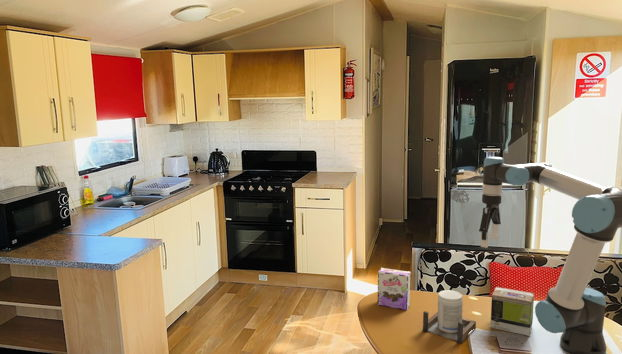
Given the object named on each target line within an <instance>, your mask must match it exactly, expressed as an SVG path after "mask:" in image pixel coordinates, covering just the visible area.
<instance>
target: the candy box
mask: <svg viewBox="0 0 622 354" xmlns="http://www.w3.org/2000/svg"><path fill="white" fill-rule="evenodd" d="M411 273H412V272H411V271H409V270H408V271H406V270H399V269H393V268H385V267H380V269H379V270H378V272H377V306H379V305H382V306H381V307H385V306H386V307H385V308H391V309H397V310H398V309H399V310H403V311H408V309H409V308H410V306H409V305H410V303H411V302H410V299H411V298H410V294H411Z"/></svg>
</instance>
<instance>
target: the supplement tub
mask: <svg viewBox="0 0 622 354" xmlns="http://www.w3.org/2000/svg"><path fill="white" fill-rule="evenodd" d="M437 295H438V297H437V312H438V328H439V329H440V330H442V331H444V332H447V333H457V332H458V322H462V318H463V294H462V293H461V292H458V291H457V290H452V289H446V290H445V289H444V290H440V291H439V292H438V294H437Z"/></svg>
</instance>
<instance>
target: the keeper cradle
mask: <svg viewBox="0 0 622 354" xmlns="http://www.w3.org/2000/svg"><path fill="white" fill-rule="evenodd" d="M422 314H423V315H422V316H423V317H422V332H424V333H431V334H434V335H437V336H440V337H443V338H445V339H449V340H452V341H455V342H456V343H458V344H463V343H464V341H465V340H466V339H467V338H468V337H469V336H468V333H469V332H470V331H471V330H473V329H476V327H477V326H476V325H477V321H475V320H472V319H468V318H465V317H462V322H458V332H457V333H447V332H444V331H442V330H440V329H439V328H438V311H437V312H436V313H435V314H433V315H432V316H431V317H430V318H429V311H423V313H422Z"/></svg>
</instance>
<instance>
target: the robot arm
mask: <svg viewBox="0 0 622 354" xmlns="http://www.w3.org/2000/svg"><path fill="white" fill-rule="evenodd" d="M482 168H483V175H482V178H483V179H482V185H481V188H482V195H481V197H482V198H481V202H482V203H483V204H485V207H483V208H482V214H481V219H480V226H479V229H478V232H479V233H480V247H481V248H486V249H488V247H489V228H490V225H491V232H490V239H491V240H498V237H499V225H501V224H502V222H501V214H500V204H501V203H502V195H501V194H502V193H503V184H507V185H512V186H519V187H521V186H524V185H525V184H528V183H536V184H539V185H541V186H544V187H546V188H549V189H551V190H554V191H556V192H559V193H561V194H563V195H566V196H568V197H571V198H573V199H576V200H577V201H576V203H575V204H574V205H573V207H572V211H571V218H572V222H573V224H574V225H573V228H574V231H575V233H576V234H575V237H574V240H573V242H572V244H571V247H570V248H569V249H570V250H569V252H568V254H567V257H566V259H565V263H564V265H563V267H562V270H561V272H560V275H559V277H558V280H557V282H556V285H555V286H553V287H551V288H550V289H548V291H547V294H546V297H545V298H544V299H542V300H540V301H538V302H537V303H536V304H535V307H534V313H535V314H534V315H535V317H536V319H537V322H538V323H539V324H540V326H541V327H542V328H543V329H544V330H545V331H547V332H549V333H552V334H559V333H562V334H561V335H560V339H559V345H560V346H561V348H562V349H564V350H565V351H566V352H568V353H569V354H607V344H606V341H605V336H604V334H603V330H604V321H605V313H606V307H607V303H606V302H607V300H606V299H607V298H606V296H605V294H603V293H602V292H600V290H599V291H598V290H596V289H594V288H591V287H588V284H589V282H590V280H591V277H592V275H593V272H594V269H595V268H596V265H597V263H598V261H599V259H600V256H601V255H602V251H603V249H604V246H605V245H606V243H610V242H612V241H613V240H614V237H615V235H616V233H617V231H618V229H619V228H621V229H622V189H621V188H618V187H615V186H613V185H612V186H608V187H606V186H603V185H600V184H598V183H595V182H592V181H589V180H586V179H584V178H581V177H577V176H575V175H572V174H570V173H567V172H564V171H561V170H558V169H556V168H553V167H552V166H551V165H550V163H548V162H531V163H522V164H521V163H520V164H507V163H505V162H504V158H503V157H500V156H486V157H485V158H484V160H483V167H482Z"/></svg>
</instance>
